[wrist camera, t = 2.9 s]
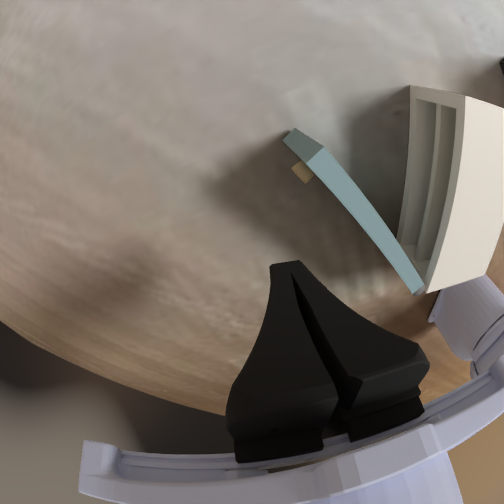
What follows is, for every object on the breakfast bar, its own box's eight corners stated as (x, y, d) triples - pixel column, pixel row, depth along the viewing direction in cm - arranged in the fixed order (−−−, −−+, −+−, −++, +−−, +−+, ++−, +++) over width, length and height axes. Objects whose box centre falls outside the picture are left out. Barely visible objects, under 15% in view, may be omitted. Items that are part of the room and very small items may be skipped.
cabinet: (450, 240, 24) (484, 274, 19) (393, 251, 24) (426, 293, 19) (473, 99, 15) (522, 116, 10) (409, 85, 15) (465, 95, 10)
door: (395, 249, 23) (426, 288, 18) (379, 263, 24) (408, 304, 19) (294, 128, 16) (324, 146, 12) (273, 148, 17) (293, 174, 13)
